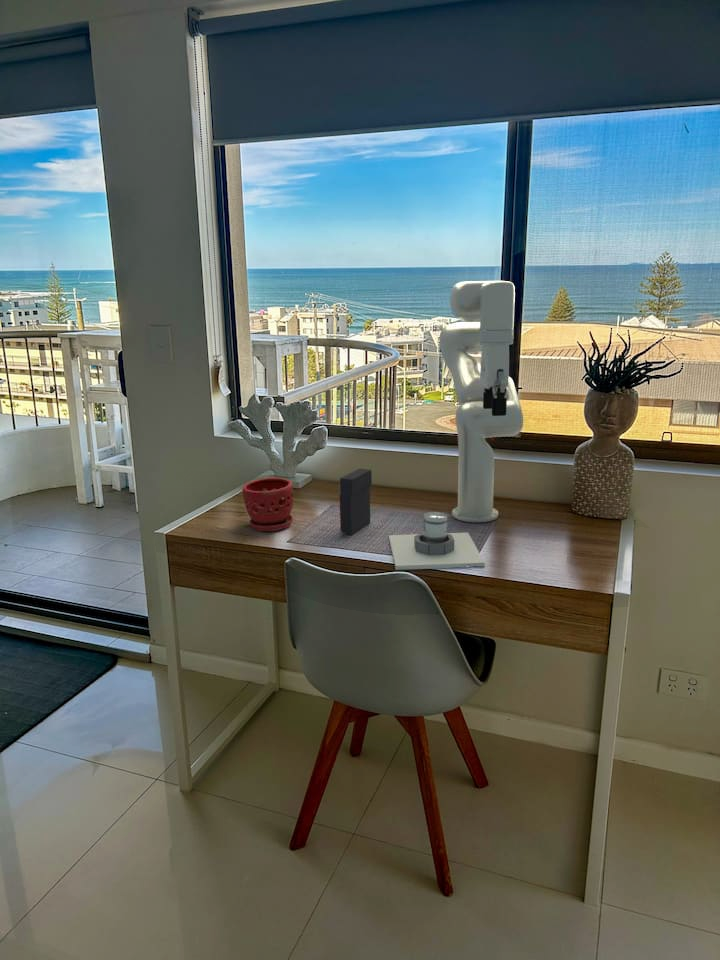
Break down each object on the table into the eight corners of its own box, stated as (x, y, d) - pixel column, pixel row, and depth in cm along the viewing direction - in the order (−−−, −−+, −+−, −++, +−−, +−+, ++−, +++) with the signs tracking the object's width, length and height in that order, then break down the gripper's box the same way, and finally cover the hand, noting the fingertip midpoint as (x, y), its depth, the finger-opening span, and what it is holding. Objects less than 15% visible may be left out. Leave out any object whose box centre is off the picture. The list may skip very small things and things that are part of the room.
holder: (388, 539, 172) (388, 525, 171) (467, 536, 172) (468, 523, 172) (395, 569, 153) (395, 555, 152) (484, 566, 153) (485, 552, 152)
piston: (420, 543, 165) (421, 512, 163) (443, 543, 165) (444, 511, 163) (424, 552, 159) (426, 519, 157) (448, 551, 160) (449, 518, 158)
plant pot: (264, 516, 192) (262, 475, 189) (304, 522, 186) (301, 480, 183) (235, 530, 181) (232, 487, 178) (276, 537, 175) (273, 492, 172)
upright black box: (358, 521, 186) (357, 467, 182) (372, 523, 184) (371, 469, 180) (338, 533, 177) (337, 477, 173) (353, 536, 175) (351, 479, 171)
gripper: (472, 335, 164) (471, 406, 169) (487, 340, 147) (485, 419, 152) (503, 335, 164) (501, 405, 169) (522, 339, 147) (519, 418, 152)
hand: (494, 411), depth 160 cm, fingers open, 9 cm apart
